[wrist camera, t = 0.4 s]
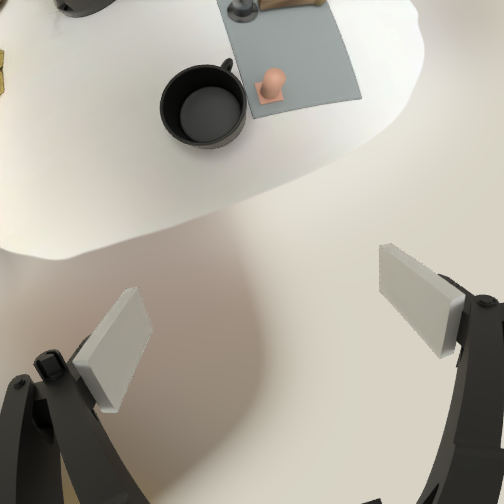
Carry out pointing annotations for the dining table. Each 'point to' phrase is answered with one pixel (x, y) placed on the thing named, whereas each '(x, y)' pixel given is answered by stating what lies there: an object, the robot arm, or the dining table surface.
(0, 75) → the cheese
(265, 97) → the post
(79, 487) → the robot arm
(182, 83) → the mug
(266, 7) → the gate
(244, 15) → the pivot post
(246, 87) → the mat
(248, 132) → the dining table surface
